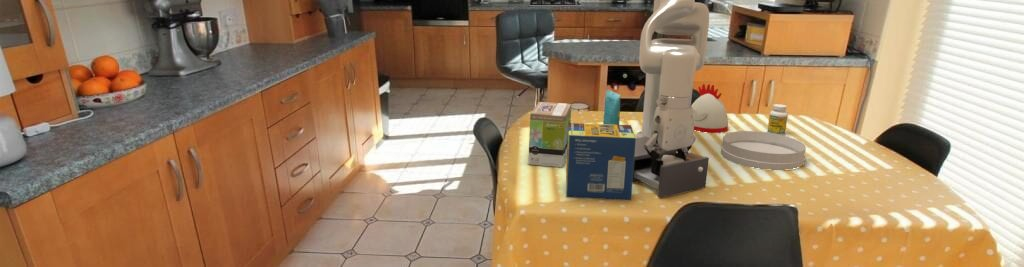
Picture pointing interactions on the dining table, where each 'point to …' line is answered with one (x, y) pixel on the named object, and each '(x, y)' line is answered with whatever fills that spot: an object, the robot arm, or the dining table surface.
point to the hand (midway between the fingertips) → (667, 171)
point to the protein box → (600, 161)
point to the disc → (670, 159)
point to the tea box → (549, 134)
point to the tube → (612, 108)
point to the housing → (644, 156)
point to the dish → (763, 150)
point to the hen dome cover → (709, 111)
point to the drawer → (676, 177)
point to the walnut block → (692, 156)
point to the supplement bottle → (778, 120)
